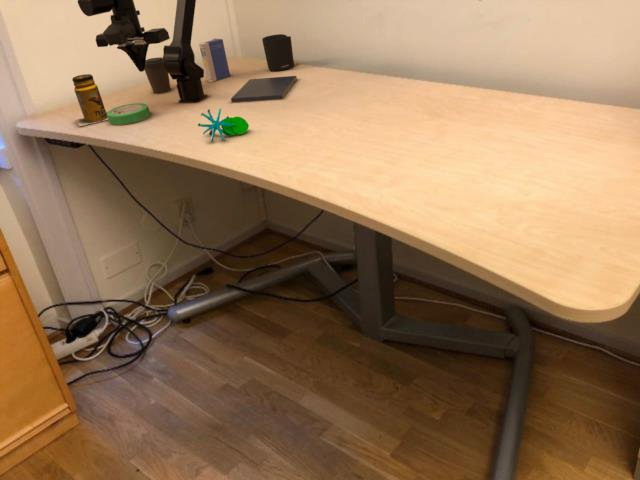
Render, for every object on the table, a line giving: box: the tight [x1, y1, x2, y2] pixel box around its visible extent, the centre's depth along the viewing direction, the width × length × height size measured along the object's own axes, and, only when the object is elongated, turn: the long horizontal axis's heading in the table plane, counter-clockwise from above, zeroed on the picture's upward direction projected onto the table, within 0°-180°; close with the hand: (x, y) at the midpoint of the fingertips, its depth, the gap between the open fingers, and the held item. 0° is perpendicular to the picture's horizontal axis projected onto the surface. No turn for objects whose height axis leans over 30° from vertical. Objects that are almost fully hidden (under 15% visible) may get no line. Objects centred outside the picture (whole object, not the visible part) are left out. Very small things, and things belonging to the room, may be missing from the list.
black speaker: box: [261, 33, 295, 72], centre depth 195 cm, size 9×9×10 cm
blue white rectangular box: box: [198, 37, 231, 83], centre depth 191 cm, size 8×3×12 cm, turn 141°
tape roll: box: [106, 102, 151, 126], centre depth 162 cm, size 11×11×3 cm
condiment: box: [71, 73, 109, 127], centre depth 162 cm, size 7×8×12 cm
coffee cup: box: [144, 56, 172, 95], centre depth 184 cm, size 8×8×10 cm
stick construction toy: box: [197, 108, 250, 143], centre depth 141 cm, size 12×7×8 cm
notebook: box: [230, 75, 298, 103], centre depth 174 cm, size 15×21×1 cm
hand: (142, 71), depth 157 cm, fingers closed
